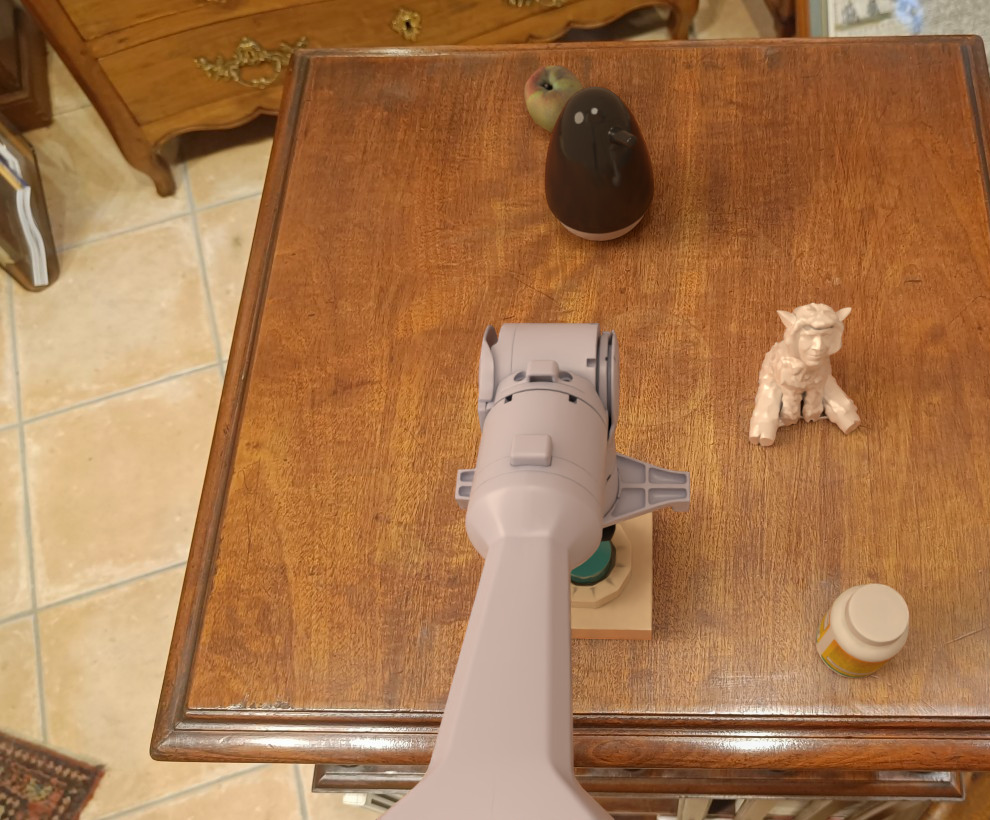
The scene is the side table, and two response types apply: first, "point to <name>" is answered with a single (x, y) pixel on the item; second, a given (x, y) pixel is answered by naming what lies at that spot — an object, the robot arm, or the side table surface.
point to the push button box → (619, 589)
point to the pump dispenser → (598, 167)
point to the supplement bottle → (863, 630)
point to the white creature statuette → (802, 375)
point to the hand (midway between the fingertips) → (581, 533)
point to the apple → (549, 93)
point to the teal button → (594, 565)
